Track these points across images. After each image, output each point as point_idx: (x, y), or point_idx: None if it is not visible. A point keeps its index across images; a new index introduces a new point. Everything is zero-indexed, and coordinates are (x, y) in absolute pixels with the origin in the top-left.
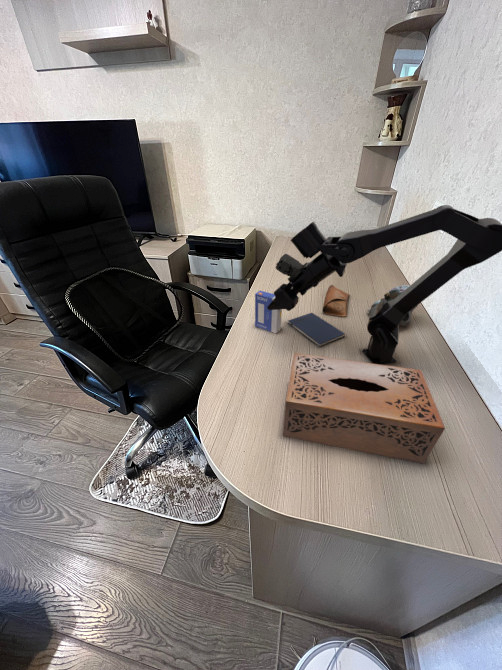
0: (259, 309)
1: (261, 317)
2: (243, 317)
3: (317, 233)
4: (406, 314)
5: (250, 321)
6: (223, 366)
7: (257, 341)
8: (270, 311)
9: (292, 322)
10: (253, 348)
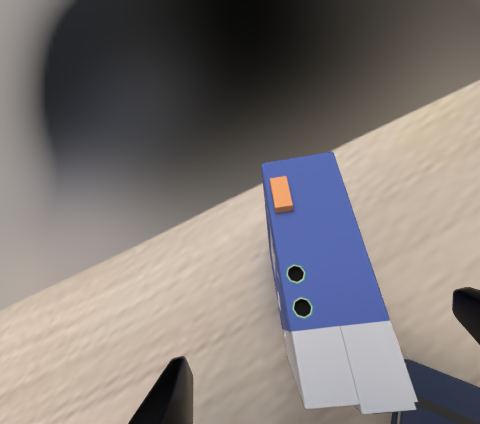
0: (271, 241)
1: (274, 265)
2: None
3: None
4: None
5: None
6: (17, 319)
7: (190, 324)
8: (283, 318)
9: None
10: (143, 341)
